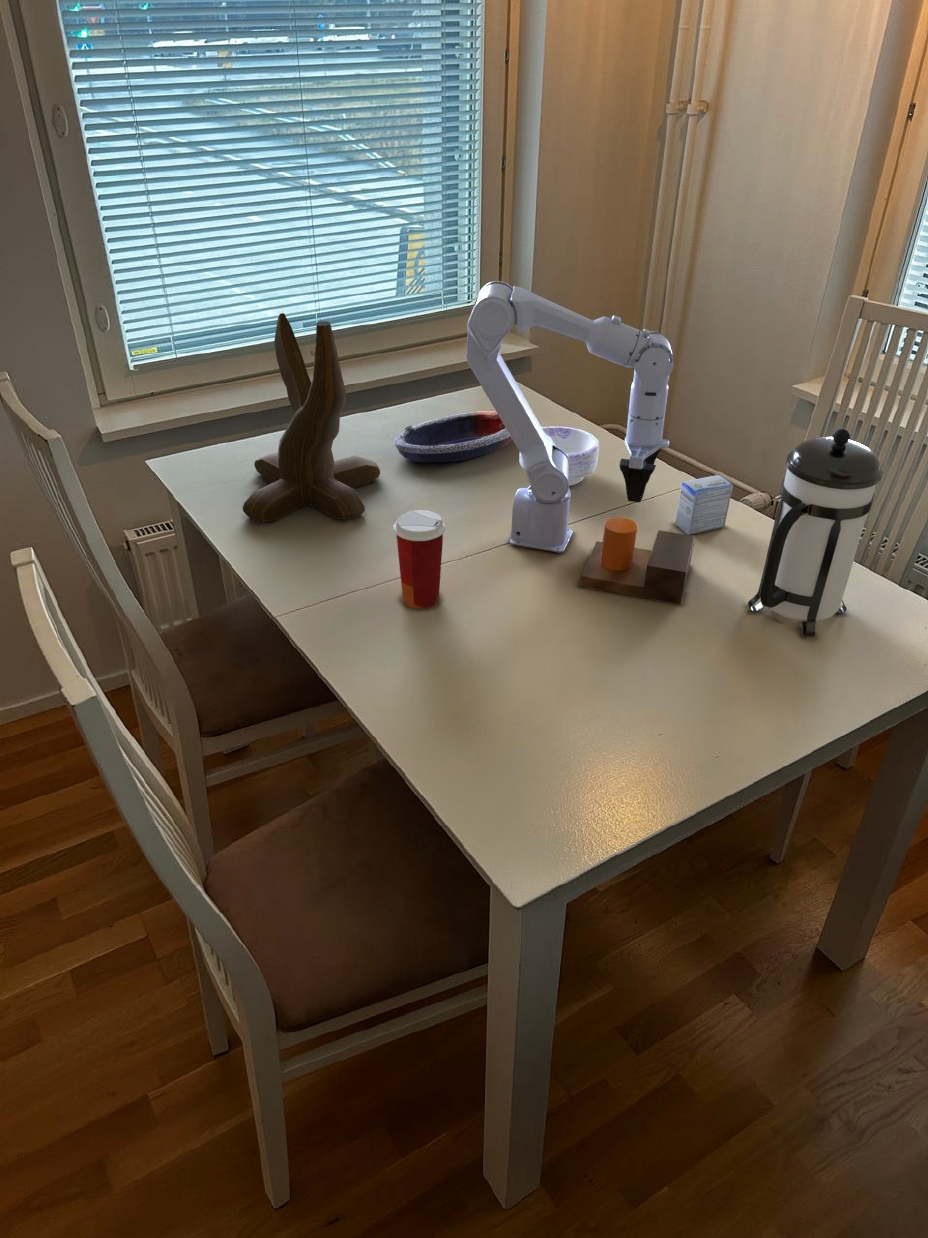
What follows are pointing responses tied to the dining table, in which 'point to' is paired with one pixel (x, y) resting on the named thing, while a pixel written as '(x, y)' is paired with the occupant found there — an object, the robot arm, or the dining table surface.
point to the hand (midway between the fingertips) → (638, 490)
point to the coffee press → (817, 528)
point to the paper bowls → (574, 450)
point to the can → (618, 543)
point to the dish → (453, 437)
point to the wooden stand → (310, 438)
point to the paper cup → (420, 556)
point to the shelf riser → (646, 570)
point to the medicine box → (703, 504)
